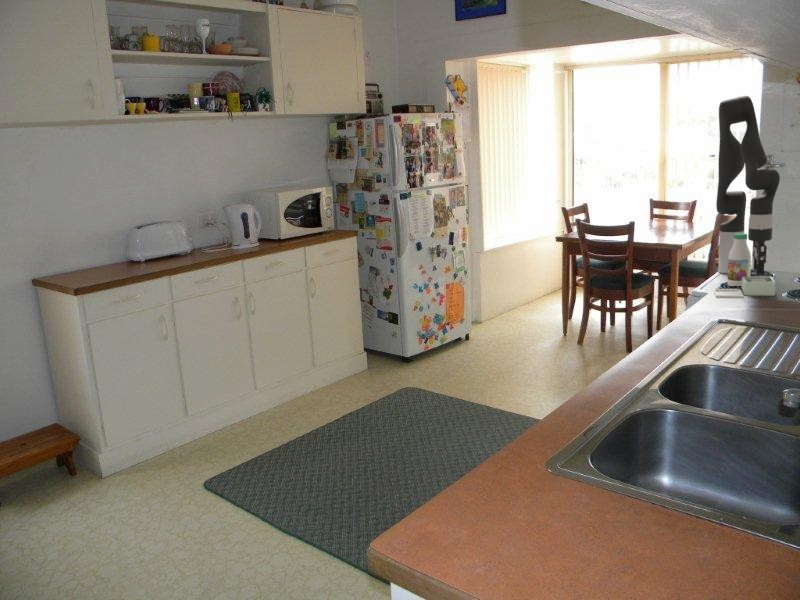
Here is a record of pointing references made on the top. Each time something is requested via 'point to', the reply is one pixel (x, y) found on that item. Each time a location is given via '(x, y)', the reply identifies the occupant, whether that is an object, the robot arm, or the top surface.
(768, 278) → the green bin
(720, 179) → the robot arm
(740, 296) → the white tray
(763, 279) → the gray cube
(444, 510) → the top surface
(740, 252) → the milk bottle
